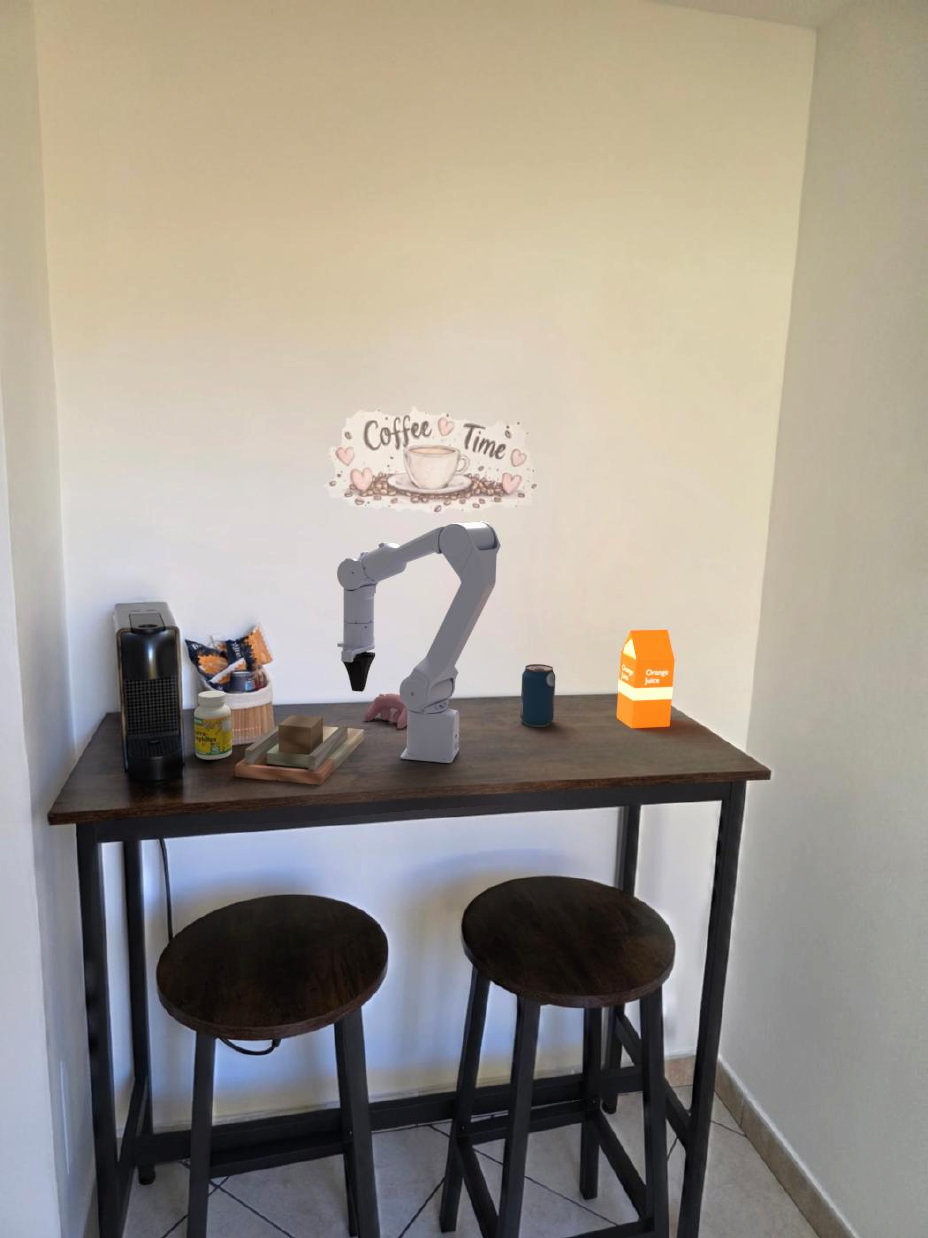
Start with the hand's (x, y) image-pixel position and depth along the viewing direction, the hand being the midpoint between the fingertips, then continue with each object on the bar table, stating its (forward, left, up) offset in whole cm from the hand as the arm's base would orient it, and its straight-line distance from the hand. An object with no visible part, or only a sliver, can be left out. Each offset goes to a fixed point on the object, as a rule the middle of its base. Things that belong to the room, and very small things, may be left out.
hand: (358, 690), depth 160 cm
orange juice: (-55, -26, -10) cm, 62 cm away
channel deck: (+6, +13, -9) cm, 17 cm away
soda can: (-33, -19, -10) cm, 39 cm away
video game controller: (-3, -11, -10) cm, 15 cm away
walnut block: (+6, +14, -7) cm, 17 cm away
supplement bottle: (+22, +16, -10) cm, 29 cm away
